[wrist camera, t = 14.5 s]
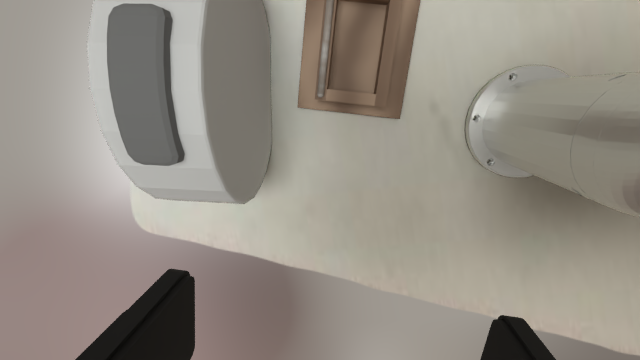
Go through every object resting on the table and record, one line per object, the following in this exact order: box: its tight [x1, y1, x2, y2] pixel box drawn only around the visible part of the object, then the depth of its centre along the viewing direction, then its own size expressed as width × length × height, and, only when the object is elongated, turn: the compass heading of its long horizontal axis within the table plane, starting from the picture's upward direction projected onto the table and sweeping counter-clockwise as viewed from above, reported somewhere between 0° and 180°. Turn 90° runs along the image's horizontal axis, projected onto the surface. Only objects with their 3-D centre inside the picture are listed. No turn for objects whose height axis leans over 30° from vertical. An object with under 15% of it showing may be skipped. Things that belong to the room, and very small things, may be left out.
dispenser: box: [298, 0, 420, 119], centre depth 33 cm, size 12×14×5 cm
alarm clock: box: [87, 0, 272, 204], centre depth 28 cm, size 21×8×20 cm, turn 178°
